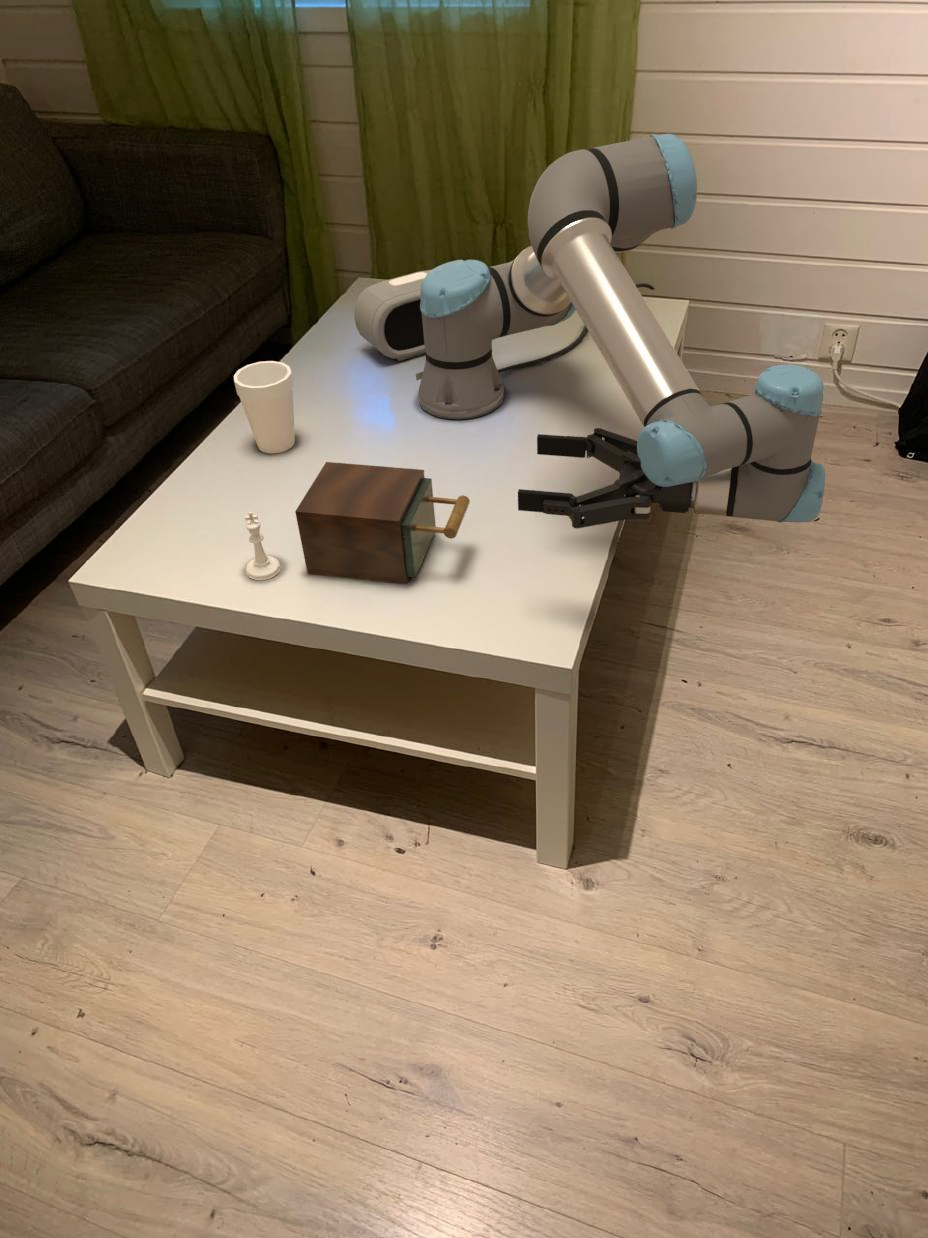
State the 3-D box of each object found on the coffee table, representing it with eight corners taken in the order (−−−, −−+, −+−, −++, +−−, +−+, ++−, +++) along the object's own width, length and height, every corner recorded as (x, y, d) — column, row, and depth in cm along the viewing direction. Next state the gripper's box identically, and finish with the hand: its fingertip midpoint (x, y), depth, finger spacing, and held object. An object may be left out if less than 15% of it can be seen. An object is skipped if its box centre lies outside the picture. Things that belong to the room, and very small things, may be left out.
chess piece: (248, 561, 147) (234, 504, 140) (281, 557, 147) (269, 500, 140) (245, 581, 143) (230, 524, 137) (279, 578, 143) (266, 521, 137)
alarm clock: (380, 369, 191) (372, 301, 182) (358, 351, 197) (350, 284, 188) (473, 340, 198) (470, 274, 189) (449, 324, 204) (445, 258, 196)
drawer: (474, 532, 147) (471, 481, 142) (456, 581, 139) (452, 529, 133) (349, 521, 152) (341, 470, 146) (323, 567, 143) (314, 516, 137)
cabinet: (429, 531, 150) (424, 469, 143) (406, 584, 141) (399, 521, 134) (336, 522, 153) (326, 461, 146) (307, 573, 144) (295, 511, 137)
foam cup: (293, 460, 168) (279, 389, 159) (241, 456, 169) (224, 386, 161) (310, 431, 175) (298, 361, 166) (260, 428, 176) (246, 359, 168)
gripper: (684, 567, 120) (510, 550, 125) (697, 457, 138) (544, 446, 143) (689, 515, 115) (508, 499, 120) (702, 409, 134) (544, 399, 138)
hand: (528, 470), depth 131 cm, fingers open, 13 cm apart
